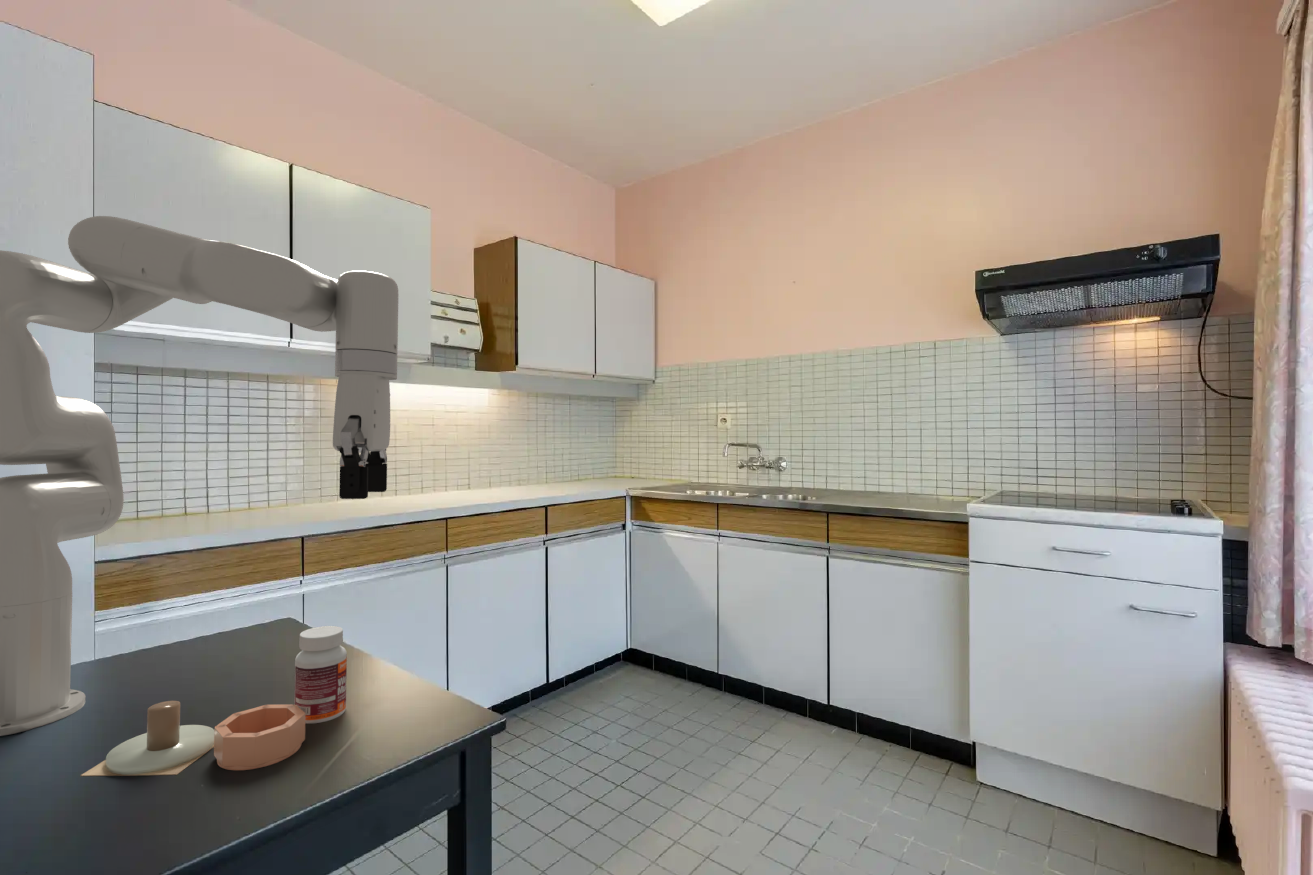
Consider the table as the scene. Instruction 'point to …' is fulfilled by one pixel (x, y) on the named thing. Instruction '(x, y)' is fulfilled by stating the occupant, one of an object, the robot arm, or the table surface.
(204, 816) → the table surface
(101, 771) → the mat
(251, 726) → the bowl
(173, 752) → the lid
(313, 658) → the pill bottle
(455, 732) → the table surface
